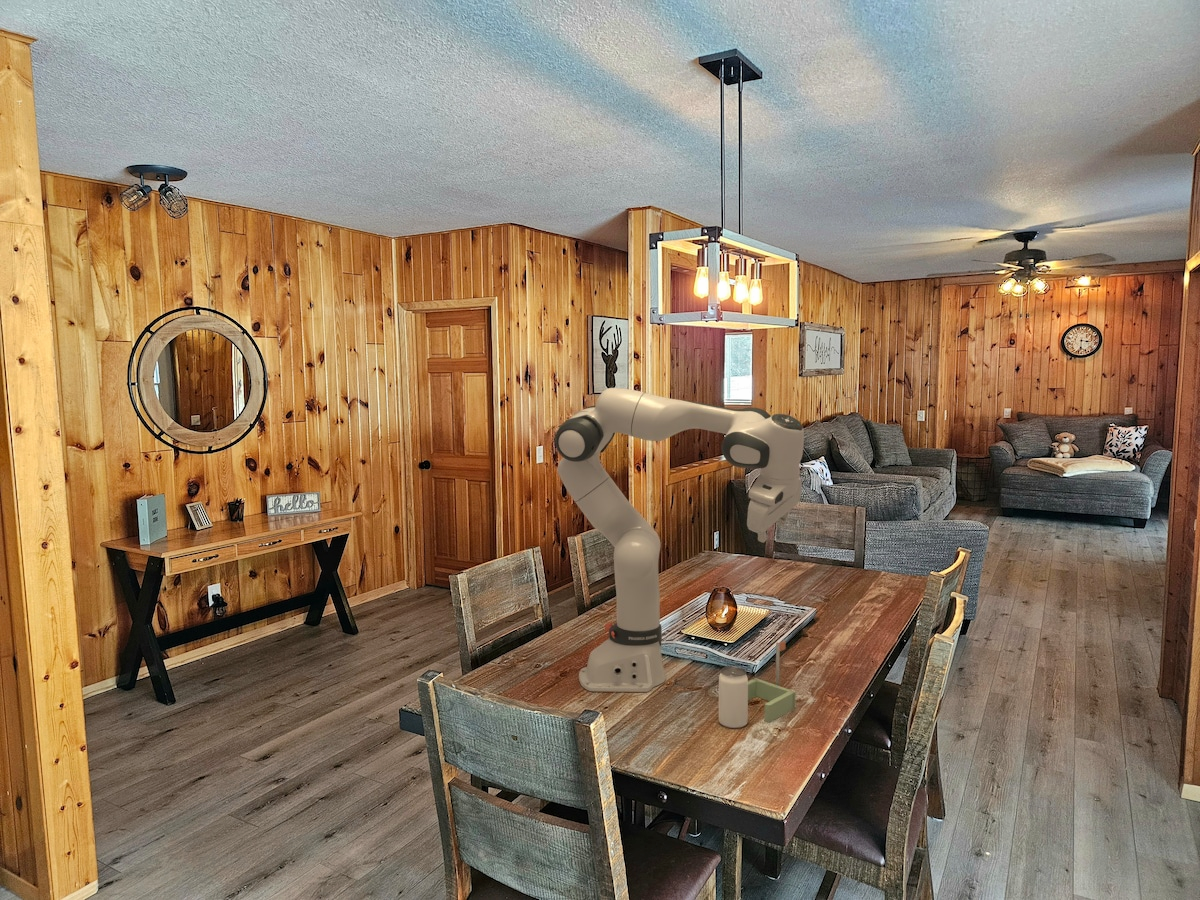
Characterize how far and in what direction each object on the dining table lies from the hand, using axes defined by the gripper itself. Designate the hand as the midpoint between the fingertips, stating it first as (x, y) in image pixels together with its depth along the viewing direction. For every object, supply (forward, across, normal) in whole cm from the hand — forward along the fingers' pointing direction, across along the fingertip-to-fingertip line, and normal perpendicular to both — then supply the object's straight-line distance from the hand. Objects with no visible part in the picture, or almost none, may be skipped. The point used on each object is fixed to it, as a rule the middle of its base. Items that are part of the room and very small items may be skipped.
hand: (771, 532), depth 188 cm
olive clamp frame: (+35, +17, +12) cm, 41 cm away
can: (+32, +29, +10) cm, 45 cm away
